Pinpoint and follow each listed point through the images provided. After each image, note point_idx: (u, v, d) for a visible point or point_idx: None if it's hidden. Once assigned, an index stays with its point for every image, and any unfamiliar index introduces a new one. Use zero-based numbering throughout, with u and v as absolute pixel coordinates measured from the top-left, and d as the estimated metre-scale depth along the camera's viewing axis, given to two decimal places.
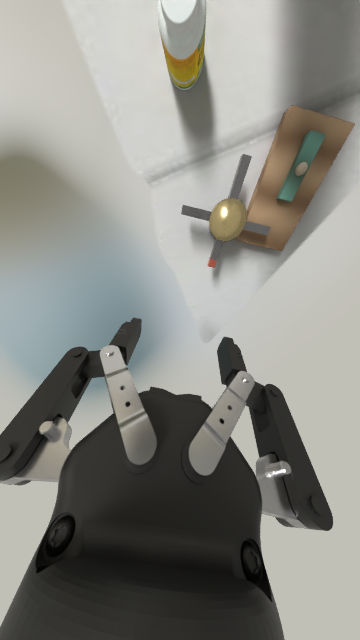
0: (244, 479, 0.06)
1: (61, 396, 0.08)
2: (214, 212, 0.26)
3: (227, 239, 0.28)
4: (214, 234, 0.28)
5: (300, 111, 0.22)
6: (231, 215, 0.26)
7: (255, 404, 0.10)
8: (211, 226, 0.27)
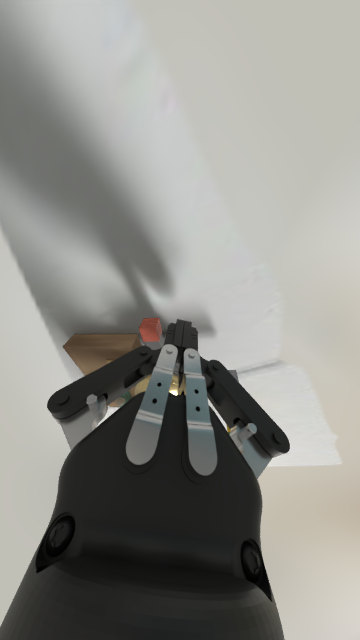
0: (244, 479, 0.06)
1: (114, 381, 0.09)
2: None
3: (147, 383, 0.15)
4: (173, 385, 0.15)
5: None
6: None
7: None
8: None
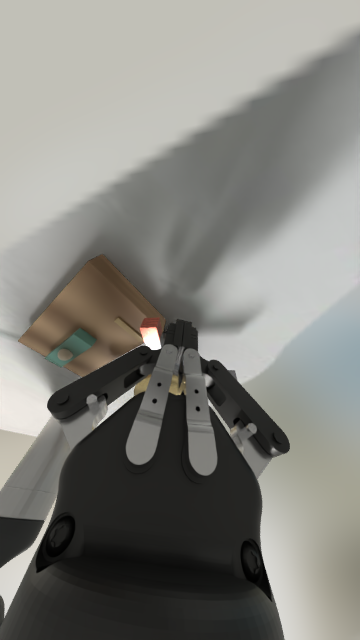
0: (244, 479, 0.06)
1: (114, 381, 0.09)
2: None
3: (147, 383, 0.15)
4: (173, 385, 0.15)
5: (74, 371, 0.24)
6: None
7: None
8: None
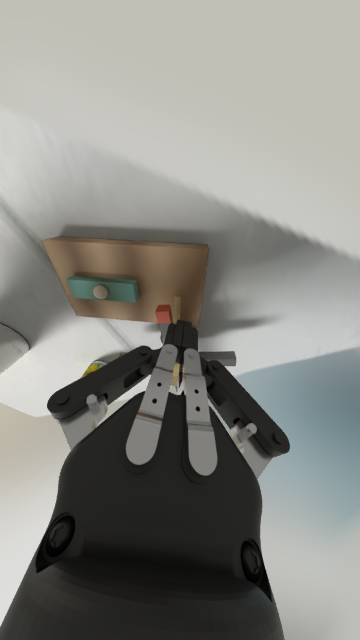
0: (244, 479, 0.06)
1: (114, 381, 0.09)
2: None
3: None
4: None
5: (74, 306, 0.21)
6: None
7: None
8: None
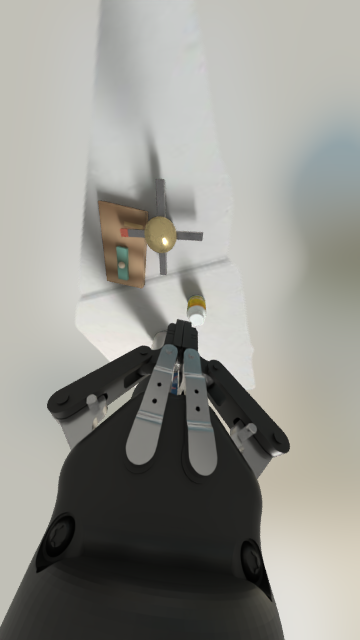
0: (244, 479, 0.06)
1: (114, 381, 0.09)
2: (163, 219, 0.28)
3: (147, 241, 0.31)
4: (147, 226, 0.29)
5: (136, 286, 0.42)
6: (164, 238, 0.30)
7: None
8: (152, 220, 0.28)
